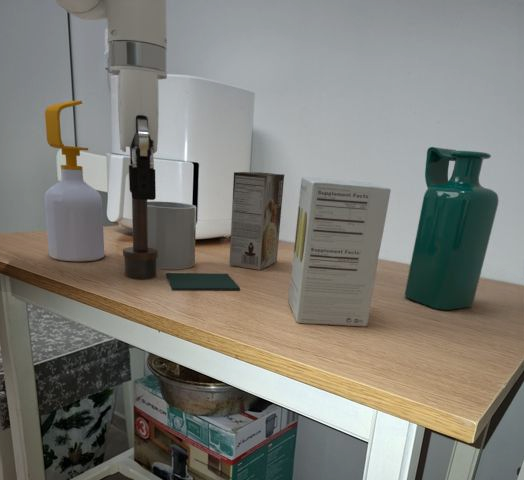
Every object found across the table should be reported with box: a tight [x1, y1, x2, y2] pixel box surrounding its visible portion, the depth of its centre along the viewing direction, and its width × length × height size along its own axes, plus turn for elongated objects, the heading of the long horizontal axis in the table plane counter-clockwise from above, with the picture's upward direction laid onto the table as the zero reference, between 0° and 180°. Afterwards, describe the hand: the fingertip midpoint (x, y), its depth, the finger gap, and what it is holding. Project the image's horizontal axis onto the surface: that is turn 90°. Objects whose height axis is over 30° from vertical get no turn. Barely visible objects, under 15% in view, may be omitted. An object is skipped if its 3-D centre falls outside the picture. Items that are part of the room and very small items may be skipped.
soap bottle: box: [43, 100, 105, 263], centre depth 80 cm, size 9×9×25 cm
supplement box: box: [288, 176, 392, 328], centre depth 62 cm, size 10×9×17 cm
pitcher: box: [404, 146, 499, 311], centre depth 72 cm, size 10×8×22 cm
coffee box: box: [228, 171, 285, 271], centre depth 88 cm, size 9×6×16 cm
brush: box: [122, 197, 158, 280], centre depth 73 cm, size 5×5×15 cm
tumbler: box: [147, 200, 197, 271], centre depth 84 cm, size 9×9×10 cm
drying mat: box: [166, 272, 241, 291], centre depth 75 cm, size 10×9×1 cm
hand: (141, 195), depth 72 cm, fingers open, 9 cm apart
